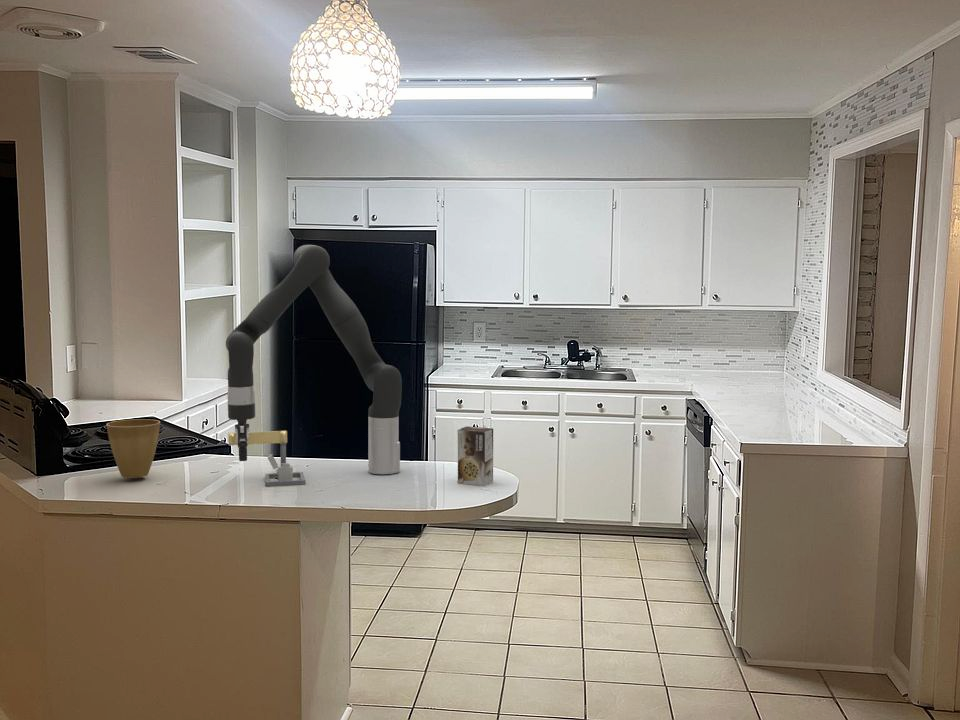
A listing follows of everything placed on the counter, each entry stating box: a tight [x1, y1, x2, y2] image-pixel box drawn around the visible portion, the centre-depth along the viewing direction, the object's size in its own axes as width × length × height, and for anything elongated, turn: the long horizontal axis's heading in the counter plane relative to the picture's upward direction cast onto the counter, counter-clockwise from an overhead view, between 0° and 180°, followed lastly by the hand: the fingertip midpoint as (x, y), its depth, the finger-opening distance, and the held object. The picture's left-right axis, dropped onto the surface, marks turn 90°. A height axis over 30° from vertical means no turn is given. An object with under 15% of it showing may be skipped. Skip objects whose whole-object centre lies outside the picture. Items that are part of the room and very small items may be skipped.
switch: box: [264, 443, 306, 487], centre depth 258 cm, size 11×18×9 cm, turn 15°
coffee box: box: [457, 426, 494, 487], centre depth 255 cm, size 9×6×16 cm
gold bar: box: [227, 430, 288, 446], centre depth 262 cm, size 2×17×4 cm, turn 106°
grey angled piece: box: [267, 453, 294, 481], centre depth 255 cm, size 7×2×8 cm, turn 97°
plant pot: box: [105, 418, 161, 479], centre depth 260 cm, size 15×15×16 cm
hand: (243, 457), depth 250 cm, fingers open, 8 cm apart
